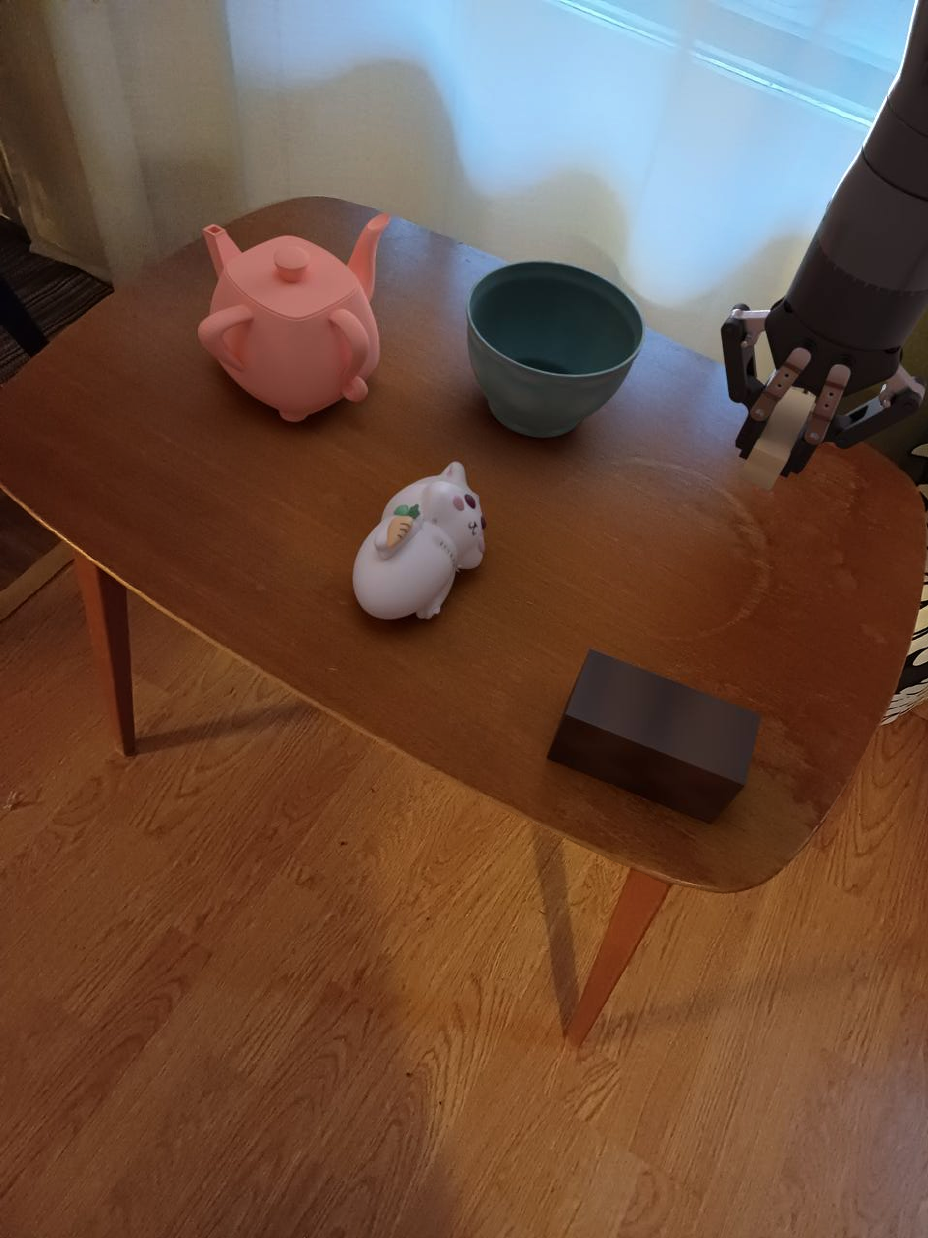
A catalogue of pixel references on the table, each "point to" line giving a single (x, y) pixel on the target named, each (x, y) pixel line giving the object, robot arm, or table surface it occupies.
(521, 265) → the flower pot
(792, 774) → the table surface
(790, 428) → the fork
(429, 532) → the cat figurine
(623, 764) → the stand
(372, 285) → the teapot
